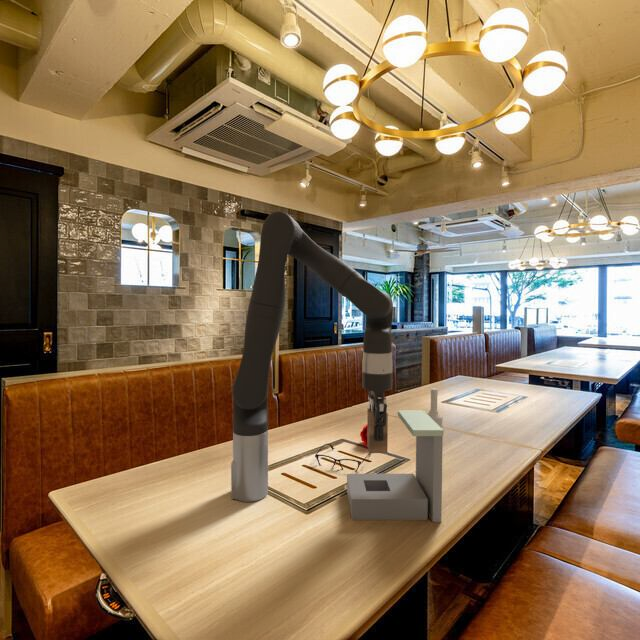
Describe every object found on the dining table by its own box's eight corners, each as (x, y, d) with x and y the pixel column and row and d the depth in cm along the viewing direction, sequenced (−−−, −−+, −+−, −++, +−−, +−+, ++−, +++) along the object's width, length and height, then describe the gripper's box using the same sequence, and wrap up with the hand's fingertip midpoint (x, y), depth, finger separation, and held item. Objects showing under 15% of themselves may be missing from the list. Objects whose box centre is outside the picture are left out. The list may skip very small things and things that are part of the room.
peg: (387, 453, 98) (387, 413, 97) (369, 453, 97) (369, 413, 97) (384, 446, 102) (384, 408, 101) (367, 446, 102) (367, 408, 101)
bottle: (428, 463, 126) (429, 386, 125) (444, 468, 123) (445, 388, 122) (421, 469, 122) (422, 389, 121) (437, 473, 119) (438, 391, 118)
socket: (351, 519, 93) (351, 499, 93) (346, 491, 107) (347, 473, 107) (427, 519, 93) (427, 499, 93) (412, 491, 107) (413, 473, 107)
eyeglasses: (312, 466, 125) (312, 454, 125) (329, 449, 140) (329, 438, 139) (362, 474, 119) (362, 461, 119) (375, 456, 134) (375, 444, 133)
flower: (387, 427, 147) (385, 433, 139) (378, 445, 148) (375, 452, 140) (368, 417, 149) (365, 422, 141) (360, 434, 149) (356, 441, 142)
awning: (412, 523, 92) (413, 430, 91) (397, 489, 109) (397, 410, 108) (442, 523, 92) (443, 430, 91) (422, 489, 109) (423, 410, 108)
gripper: (398, 375, 92) (397, 447, 92) (387, 365, 106) (386, 428, 107) (366, 375, 92) (365, 447, 92) (359, 365, 106) (359, 428, 107)
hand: (377, 436), depth 100 cm, fingers closed on peg, 4 cm apart
